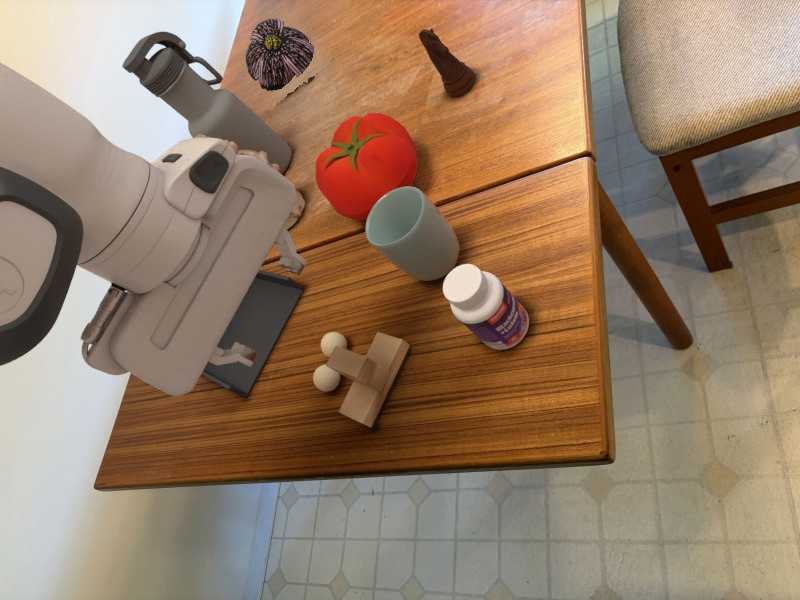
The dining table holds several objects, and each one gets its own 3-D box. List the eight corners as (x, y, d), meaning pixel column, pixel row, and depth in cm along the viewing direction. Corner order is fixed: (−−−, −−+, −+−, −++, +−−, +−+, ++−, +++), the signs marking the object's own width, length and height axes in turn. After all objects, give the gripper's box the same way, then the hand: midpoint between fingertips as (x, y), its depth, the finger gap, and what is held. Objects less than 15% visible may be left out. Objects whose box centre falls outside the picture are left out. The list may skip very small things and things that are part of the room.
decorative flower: (245, 77, 101) (224, 27, 107) (272, 119, 112) (251, 71, 118) (317, 41, 101) (291, -8, 107) (337, 86, 111) (312, 39, 118)
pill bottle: (523, 353, 55) (478, 311, 48) (476, 348, 58) (428, 307, 51) (536, 304, 56) (495, 256, 50) (489, 302, 60) (445, 256, 53)
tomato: (374, 251, 74) (327, 210, 67) (332, 197, 86) (287, 157, 79) (453, 174, 73) (412, 123, 66) (398, 130, 84) (359, 82, 77)
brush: (378, 431, 60) (339, 412, 56) (348, 417, 64) (309, 397, 59) (417, 348, 63) (382, 323, 58) (386, 339, 66) (350, 314, 61)
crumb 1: (344, 364, 68) (327, 354, 66) (328, 358, 70) (311, 348, 68) (356, 341, 69) (339, 330, 66) (339, 335, 71) (323, 325, 68)
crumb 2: (337, 398, 66) (320, 389, 64) (320, 390, 68) (303, 381, 66) (349, 373, 67) (332, 364, 64) (332, 367, 69) (315, 357, 67)
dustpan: (305, 288, 79) (289, 277, 77) (247, 397, 75) (228, 389, 73) (216, 264, 96) (200, 254, 94) (165, 352, 92) (147, 345, 90)
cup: (408, 294, 67) (358, 252, 60) (417, 240, 71) (371, 194, 64) (465, 285, 63) (418, 238, 56) (472, 228, 66) (429, 177, 59)
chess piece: (461, 100, 79) (424, 45, 72) (440, 94, 82) (402, 41, 75) (482, 75, 79) (447, 18, 72) (459, 69, 82) (424, 15, 75)
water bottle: (271, 145, 105) (140, 27, 85) (303, 142, 99) (170, 14, 79) (245, 190, 103) (105, 79, 83) (277, 190, 96) (132, 70, 76)
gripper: (81, 369, 37) (239, 428, 47) (232, 121, 42) (347, 222, 51) (53, 347, 41) (202, 405, 51) (193, 124, 46) (305, 217, 56)
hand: (276, 312), depth 51 cm, fingers open, 8 cm apart
